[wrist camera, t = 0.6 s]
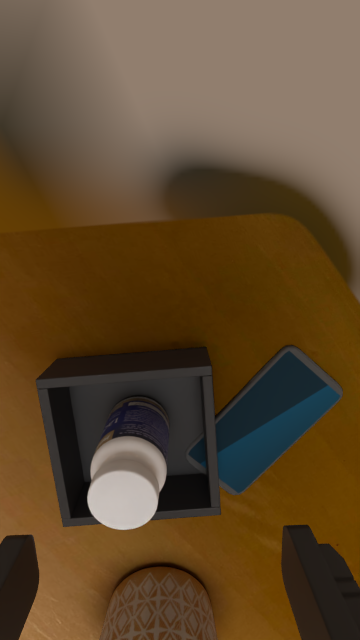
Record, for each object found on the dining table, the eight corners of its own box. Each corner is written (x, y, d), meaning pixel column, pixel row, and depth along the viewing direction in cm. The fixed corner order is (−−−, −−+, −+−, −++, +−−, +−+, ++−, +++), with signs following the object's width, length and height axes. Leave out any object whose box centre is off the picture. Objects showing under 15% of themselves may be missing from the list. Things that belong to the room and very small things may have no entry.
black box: (56, 358, 30) (35, 379, 26) (206, 346, 30) (211, 365, 26) (78, 487, 33) (63, 527, 29) (214, 477, 33) (220, 515, 29)
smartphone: (179, 450, 33) (180, 456, 32) (288, 339, 31) (291, 341, 30) (235, 493, 34) (237, 500, 33) (344, 389, 32) (349, 393, 31)
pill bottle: (112, 390, 31) (83, 457, 21) (173, 398, 31) (172, 469, 21) (105, 445, 32) (75, 532, 22) (164, 453, 32) (159, 543, 23)
